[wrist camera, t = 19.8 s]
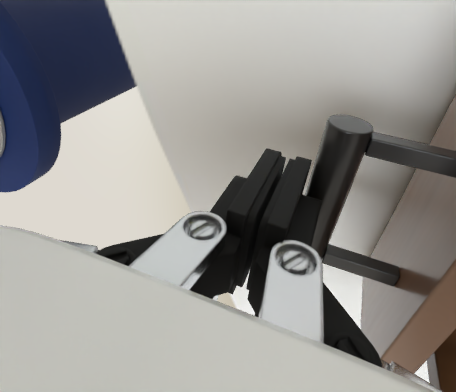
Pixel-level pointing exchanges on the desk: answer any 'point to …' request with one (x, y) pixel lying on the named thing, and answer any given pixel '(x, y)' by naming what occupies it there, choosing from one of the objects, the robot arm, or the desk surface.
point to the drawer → (398, 243)
